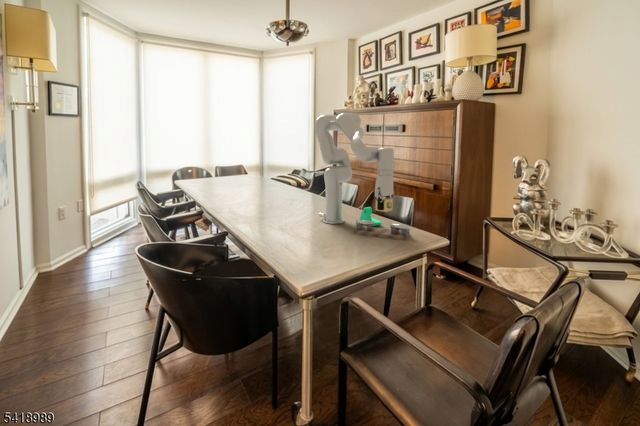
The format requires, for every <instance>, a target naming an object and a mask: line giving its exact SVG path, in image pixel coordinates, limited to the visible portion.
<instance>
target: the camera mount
mask: <svg viewBox="0 0 640 426" xmlns="http://www.w3.org/2000/svg"><path fill="white" fill-rule="evenodd" d="M371 215H373V209H372V207H371V206H367V207H365V206H364V208H363V209H362V211H361V213H360V216H359V218H358V220H366V221H374V226H373V227H375V226H381V225H382V221H381V220H378V219H376V218H373V217H372V216H371Z"/></svg>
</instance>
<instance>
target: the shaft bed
mask: <svg viewBox="0 0 640 426" xmlns="http://www.w3.org/2000/svg"><path fill="white" fill-rule="evenodd" d="M401 232H402V230H399V232H398V233H397V234H392V233H391V228H381V227H375V226H373V229H372V231H367V226H362V229H361V230H356V229H354V231H353V234H354V235H361V236H362V235H363V236H368V237H376V238H383V239H384V238H385V239H391V240H399V241H406V240H407V239H408V238H409V236H410V234H411V233H410V232H411V231H409V234H408V235H407V236H403V235H401Z"/></svg>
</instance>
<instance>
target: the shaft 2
mask: <svg viewBox="0 0 640 426" xmlns="http://www.w3.org/2000/svg"><path fill="white" fill-rule="evenodd" d="M389 227H390V228H389V229H391V233H392V234H397V233H398V232H399V231H402V232H401V235H403V236H407V235H408V234H409V232H411V231H410V228H411V227H410V225H406V224H399V223H394V222H391V223H390V226H389Z"/></svg>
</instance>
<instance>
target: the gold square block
mask: <svg viewBox="0 0 640 426" xmlns="http://www.w3.org/2000/svg"><path fill="white" fill-rule="evenodd" d="M380 199H381V197H380ZM393 202H394V198H393V197H392V198H386V196H385V197H384V198H383V210H377V200H376V199H375V211H377V212H383V213H387V212H391V211H393V204H394V203H393Z"/></svg>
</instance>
